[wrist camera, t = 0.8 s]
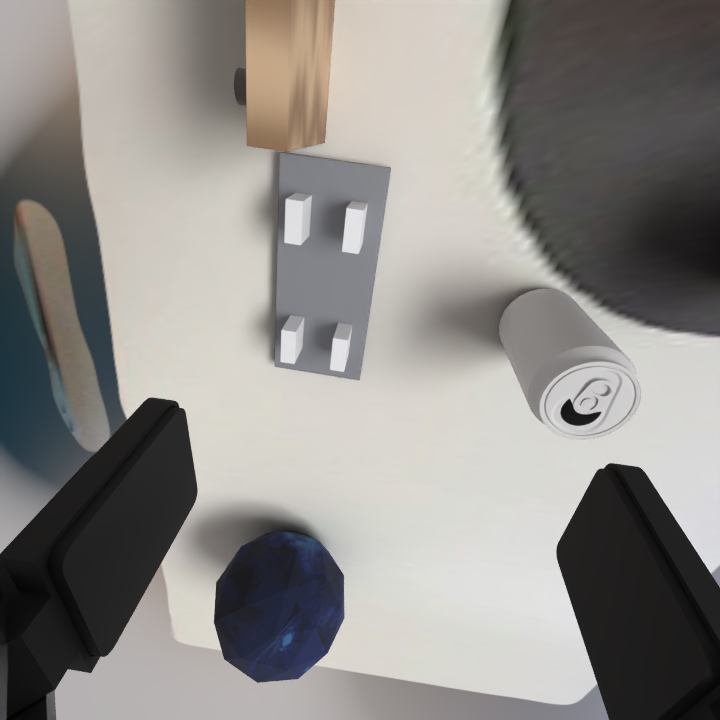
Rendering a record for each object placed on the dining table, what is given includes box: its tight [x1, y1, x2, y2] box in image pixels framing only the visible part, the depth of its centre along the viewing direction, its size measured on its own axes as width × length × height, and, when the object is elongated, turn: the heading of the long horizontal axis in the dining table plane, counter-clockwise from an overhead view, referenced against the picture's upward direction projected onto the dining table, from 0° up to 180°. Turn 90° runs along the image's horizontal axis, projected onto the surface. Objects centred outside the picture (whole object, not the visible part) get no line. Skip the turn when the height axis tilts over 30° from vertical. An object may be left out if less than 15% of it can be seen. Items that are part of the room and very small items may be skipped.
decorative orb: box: [214, 531, 344, 682], centre depth 47 cm, size 14×15×15 cm
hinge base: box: [275, 152, 391, 380], centre depth 33 cm, size 18×8×4 cm, turn 173°
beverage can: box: [499, 289, 641, 440], centre depth 30 cm, size 6×6×12 cm
